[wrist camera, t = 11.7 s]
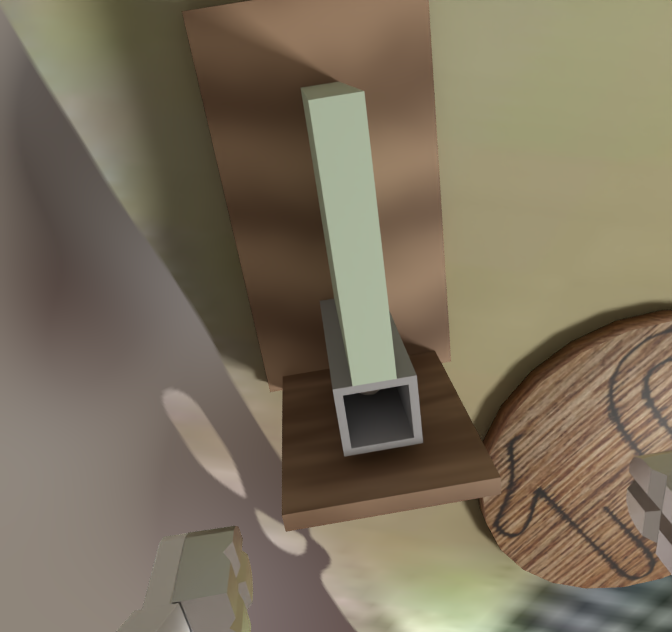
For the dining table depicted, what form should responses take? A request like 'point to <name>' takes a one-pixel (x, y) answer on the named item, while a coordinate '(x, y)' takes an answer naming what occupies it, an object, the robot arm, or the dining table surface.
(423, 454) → the cabinet base
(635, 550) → the trivet
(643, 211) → the dining table surface
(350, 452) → the pale green grey block
